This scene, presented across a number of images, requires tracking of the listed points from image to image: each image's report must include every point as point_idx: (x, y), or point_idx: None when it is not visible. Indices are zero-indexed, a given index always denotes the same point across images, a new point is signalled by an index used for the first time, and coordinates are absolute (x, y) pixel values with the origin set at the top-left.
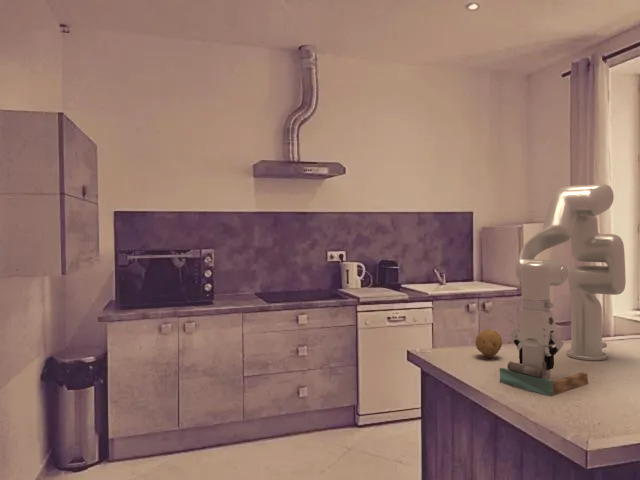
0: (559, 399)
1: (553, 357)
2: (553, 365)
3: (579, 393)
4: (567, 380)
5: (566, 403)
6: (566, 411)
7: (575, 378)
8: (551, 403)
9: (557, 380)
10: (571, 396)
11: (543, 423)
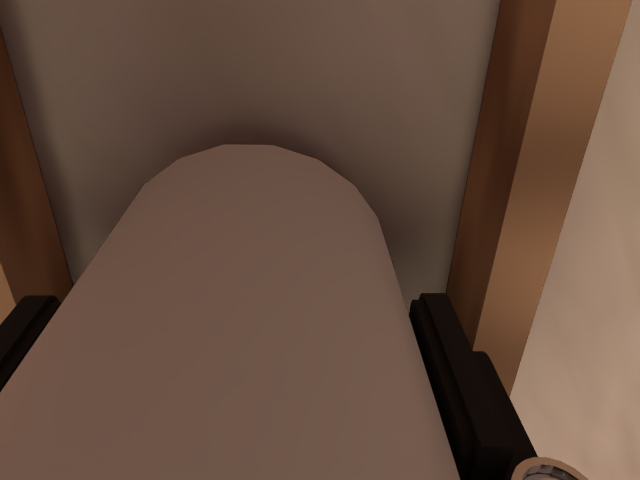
0: (543, 367)
1: (530, 456)
2: (483, 358)
3: (626, 161)
4: (562, 202)
5: (600, 391)
6: (631, 470)
7: (609, 43)
8: (530, 440)
9: (500, 300)
10: (591, 269)
11: None
